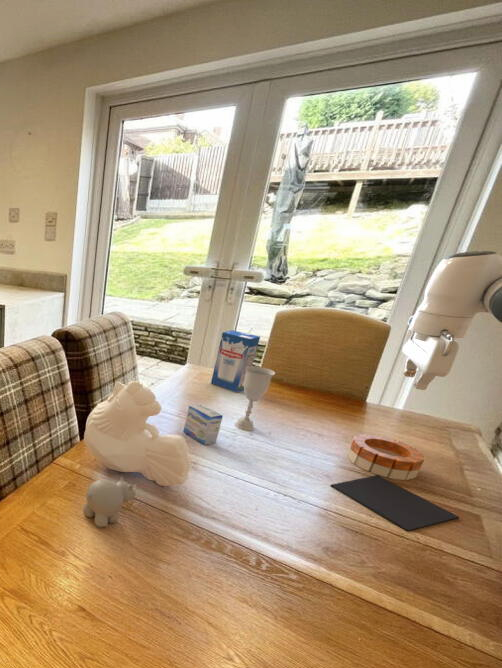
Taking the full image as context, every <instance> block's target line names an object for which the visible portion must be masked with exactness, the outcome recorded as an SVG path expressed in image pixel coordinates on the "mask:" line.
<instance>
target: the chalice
mask: <svg viewBox="0 0 502 668" xmlns="http://www.w3.org/2000/svg"><path fill="white" fill-rule="evenodd" d="M246 371H247V372H246V376H245V380H244V390H243V391H244V394H245V397H246V399H247V400H249V401H248V404H246V406H247V408H246V410H245V416H243V417H240V418H239V419H238V420H237V421H236V422H234V426H235V425H236V426H237V428H238V429H240V428H241V430H242V431H249V432H250V431H254V430H255V425H254V421H253V420H252V419H251V418H250V416H251V414H253V412H252V409H253V408H254V402H257V401H259V400H260V399H261V398H262V397H263V396H264V395H265V394H266V393H267V392H268V390H269V388H270V384H271V381H272V378H273V377H274V375H275V374H276V372H275V371H274V370H272V369H270V368H266V367H263V366H256V365H252V366H247V367H246ZM236 426H235V427H236Z"/></svg>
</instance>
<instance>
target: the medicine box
mask: <svg viewBox="0 0 502 668" xmlns="http://www.w3.org/2000/svg"><path fill="white" fill-rule="evenodd" d="M186 412H187V413H186V417H185V421H184V426H183V430H182V431H183V433H184V434H185V433H186V434H185V435H187V434H188V435H187V436H189V437H190V436H191V438H192V437H193V438H192V439H193V440H196V441H197V440H198V441H197V442H199V443H201V444H202V445H204V446H205V445H211V444H215V443H217V441H218V436H219V433H220V428H221V424H222V421H223V416H224V415H222V414H221V413H219V412H216V411H215V410H213V409H211V408H208V407H207V406H204V405H203V404H201V403H197V404H191V405H189V406H188V408H187V411H186ZM210 443H211V444H210Z"/></svg>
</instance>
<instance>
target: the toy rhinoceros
mask: <svg viewBox="0 0 502 668" xmlns="http://www.w3.org/2000/svg"><path fill="white" fill-rule="evenodd" d="M136 490H137V485H136V483H134V484H130V483H128V482H127V481H125V480H124V476H120V478H119V480H118V482H114V481H112V480H109V479H98V480H96V481H94V482H92V483H91V484H90V485H89V487H88V488H87V490H86V496H85V497H86V498H85V499H86V503H85V505H84V506H83V510H82V512H83V515H84V516H86V517H88V518H94V525H95V526H96V527H98V528H106V527H108V524H109V523H111V524H116V523H118V521H119V519H120V518H119V517H120V515H119V512H120V511H121V509H122V508H123V505H124V503H127V502H130V501H133V500H134V499H135V497H136V496H137V495H136Z"/></svg>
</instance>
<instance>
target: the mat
mask: <svg viewBox="0 0 502 668" xmlns="http://www.w3.org/2000/svg"><path fill="white" fill-rule="evenodd" d="M330 487H331V488H332V489H334V490H336V491H338V492H339V493H341V494H343V495H345V496H347V498H350V499H352V500H353V501H355V502H356V503H358V504H360V505H362V506H363V507H365V508H367V509H368V510H371V511H372V512H373V513H376V514H377V515H379V516H381V517H382V518H383V519H385V520H387V521H389V522H390V523H392V524H394V525H395V526H397V527H398V528H400V529H402V530H404V531H406V532H407V533H409V532H411V531H416V530H419V529H424V528H427V527H430V526H434V525H438V524H442V523H446V522H449V521H453V520H457V519H459V518H460V516H459V515H457V514H454V513H453V512H451V511H449V510H447V509H445V508H443V507H442V506H439V505H437V504H435V503H434V502H432V501H429V500H428V499H426V498H423V497H421V496H419V495H417V494H416V493H414V492H412V491H410V490H408V489H406V488H404V487H402V486H400V485H398V484H396V483H394V482H392V481H390V480H388V479H387V478H385V477H384V476H381V475H377V474H375V475H370V476H366V477H362V478H356V479H351V480H348V481H342V482H337V483H333V484H330Z"/></svg>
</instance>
